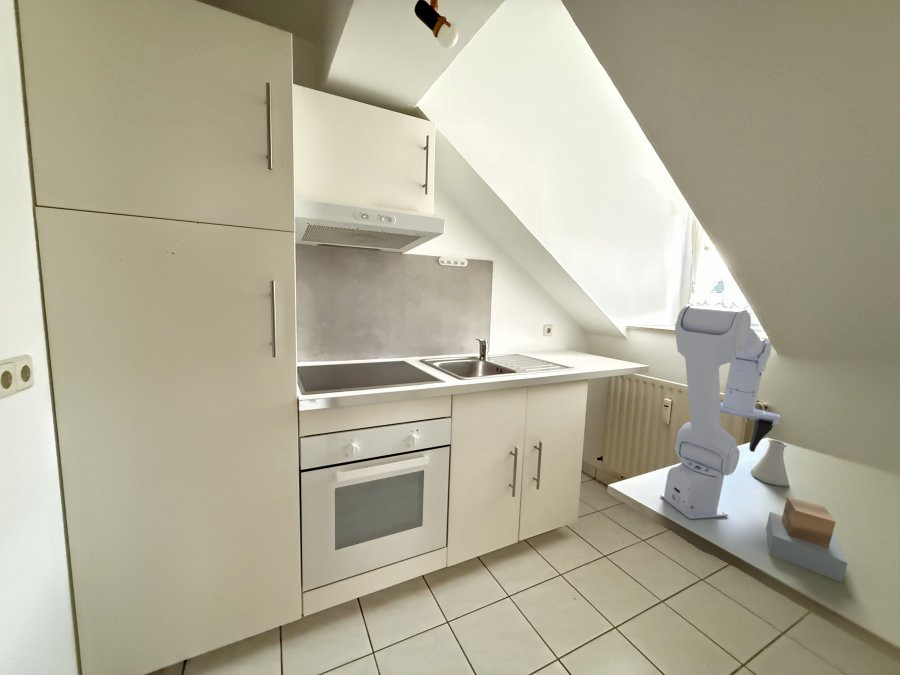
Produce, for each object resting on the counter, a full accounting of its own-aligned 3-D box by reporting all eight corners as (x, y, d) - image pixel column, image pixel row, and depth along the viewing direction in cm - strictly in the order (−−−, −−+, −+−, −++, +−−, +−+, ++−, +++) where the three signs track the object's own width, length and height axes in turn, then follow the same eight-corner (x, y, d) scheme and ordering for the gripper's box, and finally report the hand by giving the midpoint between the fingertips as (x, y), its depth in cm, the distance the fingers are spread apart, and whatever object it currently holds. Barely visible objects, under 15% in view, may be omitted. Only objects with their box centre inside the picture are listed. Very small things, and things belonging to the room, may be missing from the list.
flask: (796, 489, 86) (805, 451, 84) (761, 484, 87) (770, 446, 86) (776, 474, 93) (784, 438, 91) (744, 469, 94) (752, 434, 93)
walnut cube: (828, 548, 61) (835, 521, 60) (789, 536, 63) (795, 510, 62) (817, 531, 65) (824, 506, 64) (781, 520, 67) (787, 496, 67)
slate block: (841, 584, 58) (847, 562, 57) (768, 555, 64) (773, 535, 63) (830, 553, 65) (835, 534, 64) (765, 530, 71) (769, 511, 70)
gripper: (780, 392, 81) (768, 448, 83) (702, 378, 89) (693, 430, 91) (787, 399, 75) (773, 460, 77) (702, 385, 83) (693, 440, 85)
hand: (730, 444), depth 84 cm, fingers open, 7 cm apart
